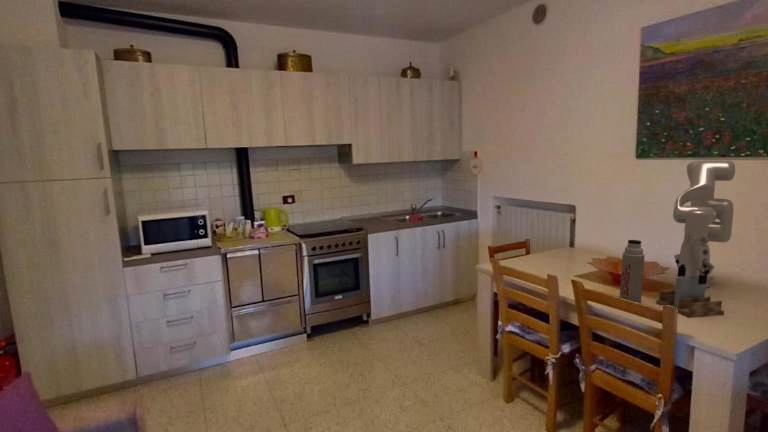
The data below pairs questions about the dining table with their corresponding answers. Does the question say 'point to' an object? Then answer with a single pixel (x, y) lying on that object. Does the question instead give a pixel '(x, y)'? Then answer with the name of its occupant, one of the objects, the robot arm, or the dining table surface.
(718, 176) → the robot arm
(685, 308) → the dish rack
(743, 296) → the dining table surface
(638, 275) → the thermos bottle
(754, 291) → the dining table surface
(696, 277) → the grey square block
